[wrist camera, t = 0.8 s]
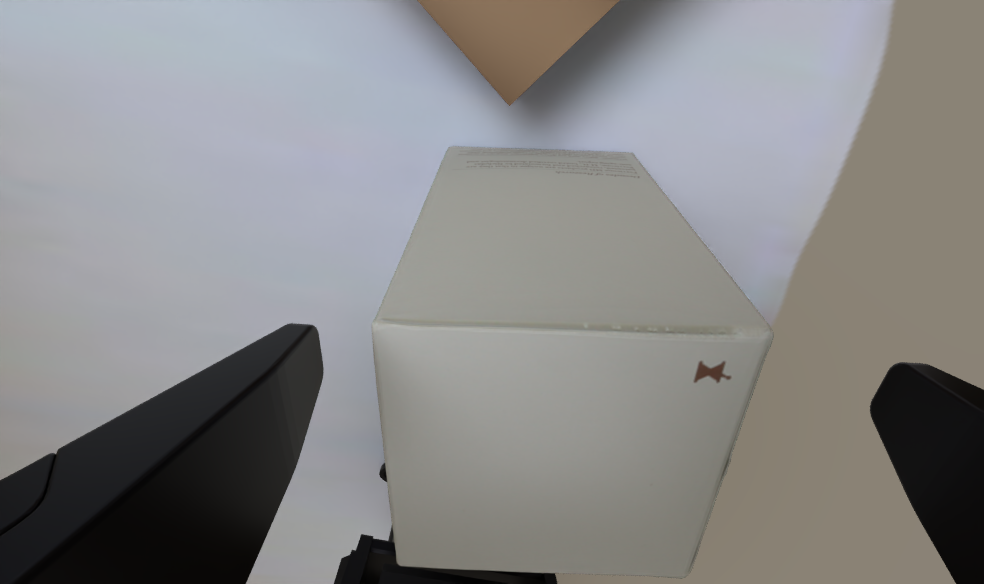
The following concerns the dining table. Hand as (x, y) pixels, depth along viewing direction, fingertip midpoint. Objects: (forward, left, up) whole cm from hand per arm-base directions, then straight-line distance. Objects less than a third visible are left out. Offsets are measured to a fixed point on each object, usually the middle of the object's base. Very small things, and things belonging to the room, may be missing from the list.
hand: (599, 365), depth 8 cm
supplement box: (-3, -2, -14) cm, 14 cm away
